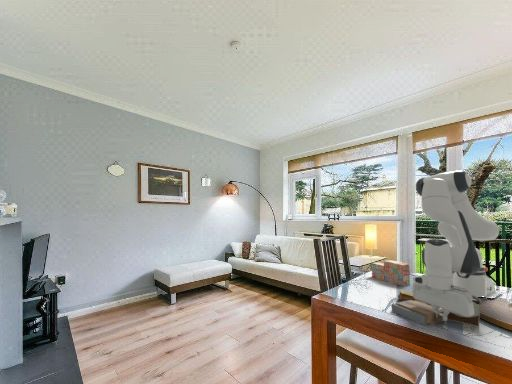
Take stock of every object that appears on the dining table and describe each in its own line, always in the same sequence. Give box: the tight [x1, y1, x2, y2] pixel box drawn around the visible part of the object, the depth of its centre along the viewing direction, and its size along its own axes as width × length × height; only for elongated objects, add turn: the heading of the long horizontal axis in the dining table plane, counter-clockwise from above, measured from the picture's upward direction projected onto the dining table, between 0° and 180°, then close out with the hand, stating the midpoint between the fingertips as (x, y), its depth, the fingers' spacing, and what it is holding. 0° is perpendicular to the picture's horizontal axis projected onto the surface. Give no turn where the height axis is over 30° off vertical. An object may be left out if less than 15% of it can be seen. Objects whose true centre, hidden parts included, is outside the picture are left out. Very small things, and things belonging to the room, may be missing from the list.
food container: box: [447, 295, 484, 328], centre depth 95 cm, size 12×6×10 cm, turn 48°
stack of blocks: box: [370, 259, 411, 287], centre depth 150 cm, size 21×6×12 cm, turn 25°
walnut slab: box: [398, 300, 444, 326], centre depth 99 cm, size 11×12×4 cm
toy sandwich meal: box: [397, 289, 432, 306], centre depth 114 cm, size 12×14×5 cm
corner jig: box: [391, 300, 428, 326], centre depth 100 cm, size 12×14×3 cm
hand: (441, 319), depth 92 cm, fingers closed
